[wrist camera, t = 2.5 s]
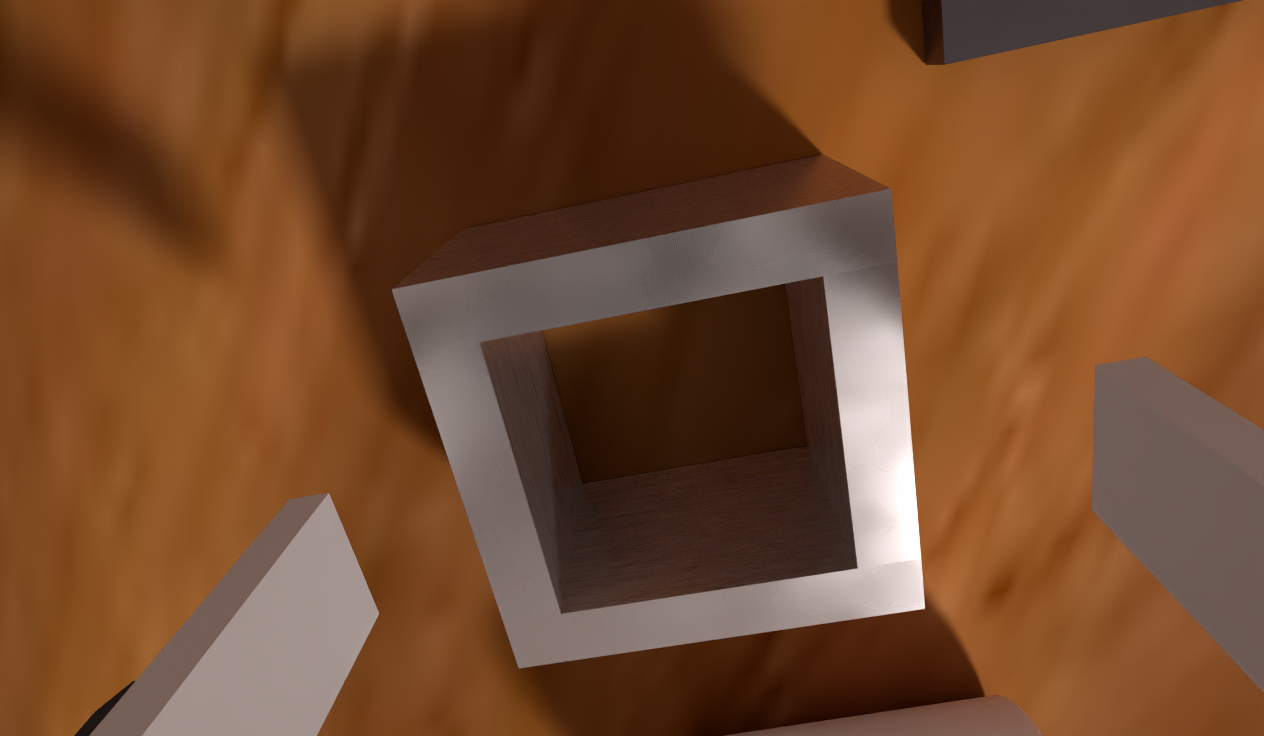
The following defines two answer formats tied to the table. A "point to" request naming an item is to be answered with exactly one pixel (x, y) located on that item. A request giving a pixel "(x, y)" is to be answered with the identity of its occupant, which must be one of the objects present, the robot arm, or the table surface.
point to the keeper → (1030, 22)
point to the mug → (924, 721)
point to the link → (692, 495)
